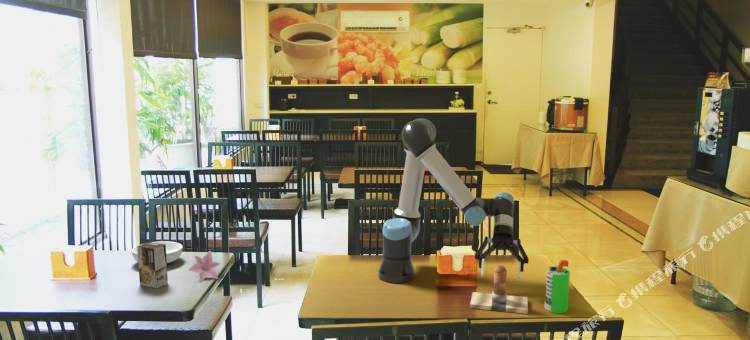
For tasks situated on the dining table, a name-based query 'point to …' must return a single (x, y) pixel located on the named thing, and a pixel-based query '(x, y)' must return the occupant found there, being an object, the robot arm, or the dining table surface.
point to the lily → (205, 266)
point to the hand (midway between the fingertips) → (500, 277)
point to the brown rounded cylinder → (499, 285)
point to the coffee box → (152, 264)
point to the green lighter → (557, 288)
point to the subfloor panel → (511, 304)
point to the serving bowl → (171, 250)
